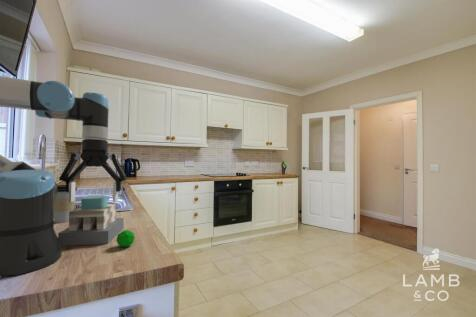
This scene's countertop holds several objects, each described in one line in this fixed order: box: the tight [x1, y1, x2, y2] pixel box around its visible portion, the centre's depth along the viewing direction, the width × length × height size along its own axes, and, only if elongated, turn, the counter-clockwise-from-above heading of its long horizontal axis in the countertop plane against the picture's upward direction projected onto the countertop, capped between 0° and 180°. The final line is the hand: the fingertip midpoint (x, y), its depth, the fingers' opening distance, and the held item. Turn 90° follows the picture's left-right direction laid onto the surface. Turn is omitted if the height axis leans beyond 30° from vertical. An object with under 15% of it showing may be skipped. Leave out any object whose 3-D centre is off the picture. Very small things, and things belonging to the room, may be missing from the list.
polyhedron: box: [116, 229, 136, 248], centre depth 71 cm, size 5×5×5 cm
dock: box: [57, 217, 125, 247], centre depth 80 cm, size 16×14×4 cm
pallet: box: [68, 203, 117, 231], centre depth 80 cm, size 12×10×6 cm
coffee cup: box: [54, 184, 78, 224], centre depth 98 cm, size 9×9×15 cm
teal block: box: [80, 195, 109, 210], centre depth 80 cm, size 6×6×4 cm
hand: (93, 201), depth 79 cm, fingers open, 13 cm apart
